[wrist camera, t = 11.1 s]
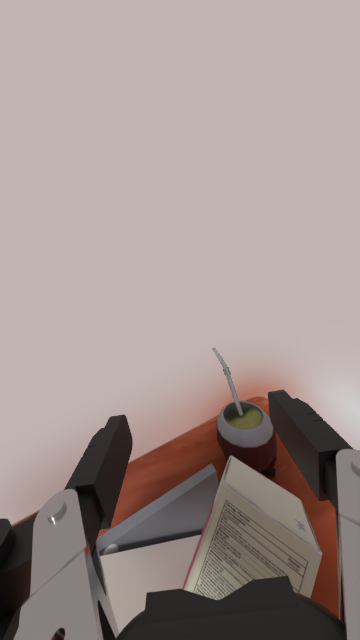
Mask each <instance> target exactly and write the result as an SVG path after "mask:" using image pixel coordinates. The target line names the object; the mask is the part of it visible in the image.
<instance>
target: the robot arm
mask: <svg viewBox="0 0 360 640" xmlns="http://www.w3.org/2000/svg"><path fill="white" fill-rule="evenodd" d="M268 401H269V413H270V419H271V423H272V425H273V427H274V429H275V431H276V433H277V434H278V436H279V437H280V439H281V441H282V442H283V444H284V445H285V447H286V449H287V450H288V452H289V453H290V455H291V457H292V458H293V460H294V461H295V463H296V465H297V466H298V468H299V469H300V471H301V473H302V474H303V476H304V477H305V479H306V481H307V482H308V484H309V485H310V487H311V489H312V490H313V492H314V493H315V495H316V497H317V498H318V500H319V501H324V500H330V501H331V503H332V504H333V506H334V507H335V509H336V511H335V514H336V539H337V563H338V600H339V619H338V618H337V617H336V616H335V615H334V614H333V613H331V612H330V611H329V610H327V609H326V608H325V607H324V606H322V605H321V604H319V603H317V602H316V601H314V600H313V599H311V598H309V597H306V596H304V595H302V594H300V593H296V592H294V591H293V588H292V585H291V582H290V580H289V577H288V576H281V577H273V578H264V579H256V580H252V581H250V582H248V583H247V584H245V585H243V586H242V587H240V588H239V589H237V590H235V591H234V592H232V593H230V594H229V595H227V596H225V597H224V598H222V599H220V600H214V599H211V598H208V597H205V596H202V595H199V594H196V593H193V592H190V591H187V590H183V589H173V590H164V591H156V592H148V593H147V594H146V603H145V610H144V611H142V612H140V613H139V614H138V615H137V616H135V617H134V618H133V619H132V620H131V621H130V622H129V623H128V624H127V625H126V626H125V627H124V628H123V630H122V631H121V632H120V633H119V631H118V627H117V623H116V620H115V617H114V614H113V610H112V607H111V603H110V599H109V594H108V590H107V586H106V581H105V577H104V572H103V568H102V563H101V559H100V554H99V550H98V545H97V542H96V540H97V537H98V534H99V530H100V529H107V528H110V526H111V522H112V519H113V515H114V512H115V508H116V504H117V501H118V497H119V494H120V490H121V487H122V483H123V479H124V476H125V472H126V469H127V465H128V461H129V457H130V454H131V450H132V436H131V432H130V429H129V425H128V422H127V418H126V416H125V415H119V416H112V417H110V418H109V420H108V422H107V424H106V426H105V428H101V429H100V430H99V431H98V432H97V433H96V434H95V435H94V436H93V438H92V439H91V441H90V443H89V445H88V448H87V449H86V450H85V452H84V454H83V457H82V458H81V460H80V461H79V463H78V465H77V467H76V469H75V471H74V472H73V474H72V476H71V478H70V480H69V482H68V483H67V485H66V487H65V489H64V490H63V491H61V492H59V493H57V494H56V495H54V496H53V497H52V498H51V499H50V500H48V501H47V503H46V504H45V505H44V506H43V507H42V508H41V510H40V511H39V513H38V515H37V516H35V517H33V518H31V519H28V520H26V521H24V522H22V523H20V524H18V525H16V526H14V527H12V526H11V524H10V522H9V520H8V519H0V640H13V639H14V637H15V635H16V632H17V630H18V628H19V631H18V640H360V451H358V450H354V449H353V448H352V447H351V446H349V444H348V443H347V442H346V441H345V440H344V439H343V438H342V437H341V436H339V434H338V433H337V432H336V431H334V429H333V428H332V427H330V426H329V425H328V424H327V423H326V422H325V421H323V419H322V418H321V417H320V416H319V415H318V414H316V412H315V411H314V410H313V409H312V408H311V407H310V406H309V405H308V404H307V403H305V402H303V401H301V400H299V399H298V398H296V399H292V398H291V397H290V396H289V395H288V394H287V393H286V392H285V391H284V390H278V391H272V392H269V393H268Z"/></svg>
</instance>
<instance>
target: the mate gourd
mask: <svg viewBox="0 0 360 640" xmlns="http://www.w3.org/2000/svg"><path fill="white" fill-rule="evenodd" d="M212 350H213V351H214V353H215V354H216V356H217V357H218V359H219V360H220V363H221V364H222V366H223V368H224V369H223V371H224V374H225V375H226V377H227V380H228V383H229V386H230V389H231V392H232V394H233V398H234V401H235V402H232V403H229V404H228V405H226V406H225V407H224V408H223V409H222V411H221V413H220V415H219V417H218V419H217V439H218V443H219V445H220V447H221V449H222V451H223V453H224V454H225V457H226V459H227V460H228V459H229V457H230V456H233V457H235V458H236V459H238V460H240V461H241V462H242V463H244V464H246V465H247V466H249V467H250V468H252V469H254V470H255V471H257V472H261V473H263V474H266V475H269V476H272V477H274V476H275V469H274V468H273V467H274V464H275V461H276V451H277V450H276V433H275V431H274V428H273V425H272V423H271V420H270V417H269V416H268V415H267V414H266V413H265V412H264V411H263V410H262V409H261V408H260V407H259V406H258V405H256V404H254V403H251V402H247V401H239V400H238V397H237V394H236V391H235V388H234V385H233V382H232V379H231V376H230V374H231V373H230V371H229V368H228V367H227V365H226V364H225V362H224V360H223V358H222V357H221V356H220V354H219V353H218V351H217V350H216V349H215V348H213V349H212Z"/></svg>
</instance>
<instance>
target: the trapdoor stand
mask: <svg viewBox="0 0 360 640" xmlns="http://www.w3.org/2000/svg"><path fill="white" fill-rule="evenodd" d="M218 487H219V481H218V476H217V471H216V469H215V468H214V466H213V465H212V463H211V464H209V465H208V466H206V467H205V468H203V469H202V470H200V471H199V472H197V473H196V474H194V475H193V476H191V477H190V478H188V479H187V480H185V481H184V482H182V483H180V484H179V485H177V486H176V487H174V488H173V489H171V490H170V491H168V492H167V493H165V494H164V495H162V496H161V497H159V498H158V499H156V500H155V501H153V502H152V503H150V504H149V505H147V506H145V507H144V508H142V509H141V510H139V511H138V512H136V513H135V514H133V515H132V516H130V517H129V518H127V519H126V520H124V521H123V522H121V523H120V524H118V525H117V526H115V527H114V528H112V529H110V530H108V531H107V532H106V533H104V534H103V535H101V536H100V537H98V538H97V540H96V542H97V545H98V550H99V554H100V556H104V555H108V554H113V553H118V552H122V551H127V550H132V549H136V548H141V547H146V546H150V545H155V544H160V543H165V542H169V541H174V540H179V539H183V538H188V537H193V536H197V535H201V534H202V531H203V529H204V526H205V523H206V520H207V518H208V515H209V512H210V509H211V507H212V504H213V501H214V498H215V495H216V492H217V489H218Z"/></svg>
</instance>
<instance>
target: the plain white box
mask: <svg viewBox="0 0 360 640" xmlns="http://www.w3.org/2000/svg"><path fill="white" fill-rule="evenodd" d="M200 537H201V535H197V536H193V537H188V538H183V539H179V540H174V541H169V542H165V543H160V544H155V545H150V546H146V547H141V548H136V549H132V550H127V551H122V552H118V553H113V554H108V555H104V556H100V559H101V563H102V568H103V572H104V577H105V581H106V586H107V590H108V594H109V599H110V603H111V607H112V610H113V614H114V617H115V620H116V623H117V627H118V631H119V633H120V632H121V631H122V630H123V628H124V627H125V626H126V625H127V624H128V623H129V622H130V621H131V620H132V619H133V618H134V617H135V616H137V615H138V614H139V613H140V612H142V611H144V610H145V603H146V594H147V593H148V592H156V591H164V590H173V589H182V588H183V585H184V581H185V579H186V576H187V573H188V570H189V567H190V564H191V561H192V559H193V556H194V553H195V550H196V548H197V545H198V542H199V539H200ZM18 631H19V628H18V630H17V632H16V635H15V637H14V639H13V640H18Z"/></svg>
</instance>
